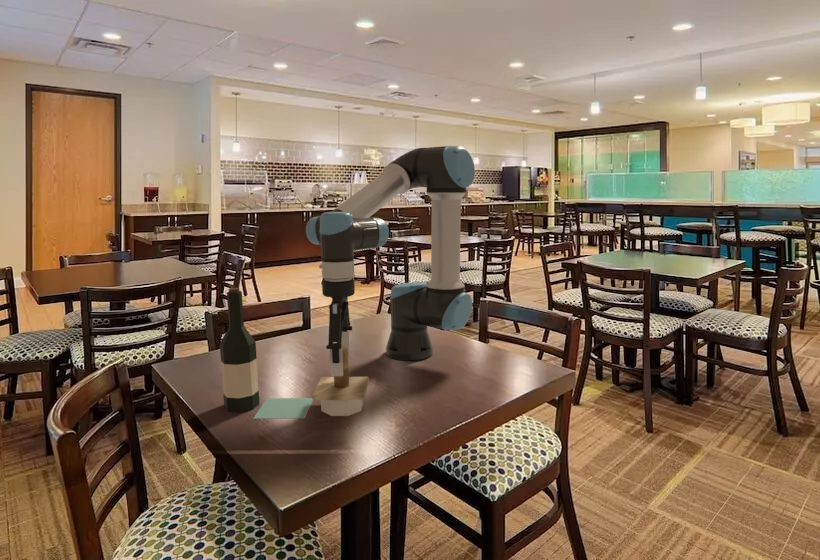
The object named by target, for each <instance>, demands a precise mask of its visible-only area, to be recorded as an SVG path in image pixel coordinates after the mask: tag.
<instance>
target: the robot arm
mask: <svg viewBox="0 0 820 560" xmlns="http://www.w3.org/2000/svg"><path fill="white" fill-rule="evenodd" d="M474 163H475V162H474V159H473V157H472V155H471V154H470V152H469V151H468V150H467V149H466V148H464V147H463V146H459V145H445V146H431V147H418V148H415V149H414V148H413V149H412V150H409V151H408V152H405V153H403V154H402V155H400V156H398V157H397V158H395V159H393V161H391V162H389V163H388V164H387V165H386V166H384V168H383V170H382V173H381V174H379V175H377V176H376V177H375V178H374V179H373V180H372V181H370V182H369V183H367V184H366V185H365V186H363V187H362V188H360V189H359V190H358V191H357V192H356V193H354V194H353V195H351V196H349V198H347V199H346V200H344V201H343V202H342V203H341V204H340V205H338V206H337V207H335V208H334V209H333V210H331V211H327V212H323V213H321V215H317V216H314V217H311V218H310V219H309V220H308V221H307V223H306V226H305V233H306V237H307V239H308V240H309V242H310V243H311V244H313V245H319V246H320V257H321V258H320V259H321V264H319V265H318V268H319V269H321V277H322V278H323V279H322V281H321V288H322V289H321V291H322V296H323V297H325V298H331V302H330V304H328V305H329V306H328V308H329V309H328V311H329V316H328V318H329V320H328V321H329V322H328V323H329V324H328V344H327V345H326V347H325V349H327V350H329V361H330V362H329V363H330V377H334V376H343V354H342V346H347V347H348V358H350V357H351V342H350V341H351V339H350V331H351V332H352V331H353V326H352V325H351V320H350V311H349V300H348V299H349V297H351V296H354V294H355V293H356V292H355V288H356V287H355V279H354V278H353V277H355V255H354V253H355V252H356V251H363V250H370V249H373V250H374V249H377V248H380V247H383V246H385V245H386V243H387V242H388V239H389V238H390V231H389V225H388V224H387V222H386V221H385V220H383V219H382V218H381V217H380V218H379V217H372V216H373V215H374V214H376V213H377V212H378V211H379V210H380V209H382V208H383V207H384V206H385V205H387V204H388V203H389V202H390V201H391V200H393V199H394V198H395V197H397V196H398V195H399V194H400V195H403V194H405V193H407V192H408V191H410V190H413V189H416V188H426V195H427V196H428V197H429V198H430V200H431V236H430V237H431V239H430V240H431V247H430V248H431V253H430V255H431V256H430V257H431V258H430V260H431V263H430V264H431V265H430V266H431V267H430V268H431V269H430V270H431V271H430V274H431V275H430V280H429V281H427V282H425V281H413V282H404V283H399V284H396V285H394V286H392V288H391V289H390V299H389V301H390V332H389V336H388V339H387V342H386V346H385V347H386V348H385V354H386V356H387V357H388V358H390V359H394V360H397V361H418V360H419V361H420V360H424V359H428V358H429V357H431V356H433V354H434V353H433V352H434V349H433V347H434V346H433V344H432V340H431V337H430V334H429V331H428V327H431V328H437V329H442V330H445V331H458V330H459V331H460V330H461V329H462V328H464V327H465V325H466V324H467V322H469V320H470V318H471V314H472V311H473V299H472V297H471V295H470V294H469V293H468V292H465V289H466V288H465V286H466V285H465V284H464V282H462V280H461V279H460V277H461V275H460V274H461V225H462V223H461V222H462V221H461V219H462V218H461V211H462V209H461V208H462V206H461V205H462V199H463V198H464V196H466V194H467V188H469V187H470V186H471V185H472V184H473V183H474V179H475V176H476V175H475V173H476V172H475V171H476V169H475V168H476V167H475V164H474Z"/></svg>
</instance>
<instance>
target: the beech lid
mask: <svg viewBox="0 0 820 560" xmlns="http://www.w3.org/2000/svg"><path fill="white" fill-rule="evenodd" d="M342 354H343V376H320V379H319V381H318V383H317V385H316V387H315V389H314V391H313V393H312V394H311V395H312V397H311V398H312V399H313V401H321V400H363V401H365V398H366V396H367V395H366V394H367V391H368V390H367V389H368V385H369V381H370V380H369V378H370V377H369V376H350V369H349V368H350V367H349V357H348V347H347V346H342Z"/></svg>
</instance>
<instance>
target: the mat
mask: <svg viewBox="0 0 820 560" xmlns="http://www.w3.org/2000/svg"><path fill="white" fill-rule="evenodd" d="M313 401H314V400H313V399H312V397H279V398H278V397H269V398H266V399H265V400H264V402H263V404H262V405H261V406H260V408H259V410H258V411H257V412H256V414H255V415H254V417H253V420H254V419H255V420H256V419H262V420H264V419H273V420H275V419H305V418H306V417H307V414H308V413H309V411H310V408H311V406H312V404H313Z"/></svg>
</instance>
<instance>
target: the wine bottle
mask: <svg viewBox="0 0 820 560" xmlns="http://www.w3.org/2000/svg"><path fill="white" fill-rule="evenodd" d="M226 298H227V299H226V301H227V313H228V315H227V317H228V328H227V330H226V332H225V334H224V335H223V337H222V339H221V340H220V342H219V352H220V353H219V355H220V368H221V377H222V381H221V382H222V393H223V405H224V408H225V410H226V411H227V412H228V413H238V414H239V413H240V414H241V413H245V412H248V411H252V410H253V411H254V410H255V409H256V408H257V407H259V405H260V392H259V377H258V376H259V375H258V360H257V344H256V340H255V339H254V338H253V336H252V335H251V333H250V332H249V331H248V329H247V328H246V326H245V321H244V320H245V319H244V307H243V292H242V291H241V289H240V287H230V288H228V291H227V292H226Z"/></svg>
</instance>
